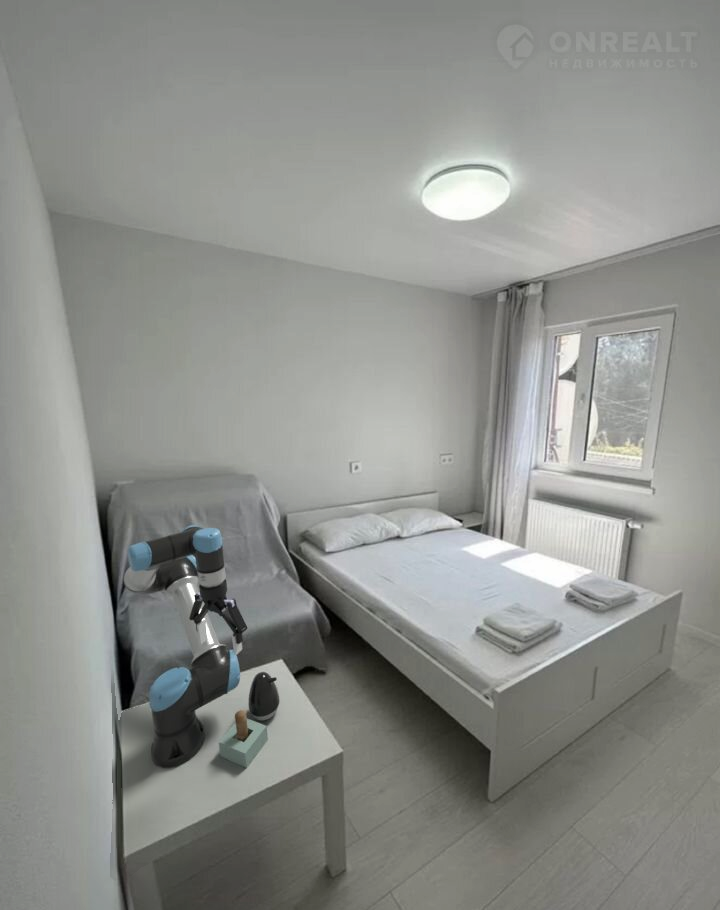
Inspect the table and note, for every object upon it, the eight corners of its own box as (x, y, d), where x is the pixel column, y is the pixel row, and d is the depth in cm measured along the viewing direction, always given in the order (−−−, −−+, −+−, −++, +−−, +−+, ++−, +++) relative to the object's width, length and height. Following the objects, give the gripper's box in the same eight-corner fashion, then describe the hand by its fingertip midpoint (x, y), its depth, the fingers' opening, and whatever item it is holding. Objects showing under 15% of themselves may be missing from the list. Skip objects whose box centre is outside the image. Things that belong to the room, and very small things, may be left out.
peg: (243, 742, 124) (239, 708, 122) (251, 745, 123) (248, 712, 121) (236, 750, 121) (232, 716, 119) (244, 754, 120) (240, 720, 118)
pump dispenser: (273, 728, 129) (269, 687, 126) (244, 723, 131) (239, 683, 128) (285, 703, 138) (282, 664, 136) (258, 699, 141) (254, 661, 138)
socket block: (220, 756, 120) (218, 742, 119) (242, 729, 129) (241, 716, 128) (246, 768, 116) (245, 753, 115) (267, 739, 125) (266, 725, 124)
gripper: (171, 580, 117) (180, 644, 121) (237, 595, 107) (245, 665, 111) (191, 569, 124) (199, 630, 128) (255, 582, 114) (261, 648, 118)
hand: (220, 646), depth 119 cm, fingers open, 13 cm apart
